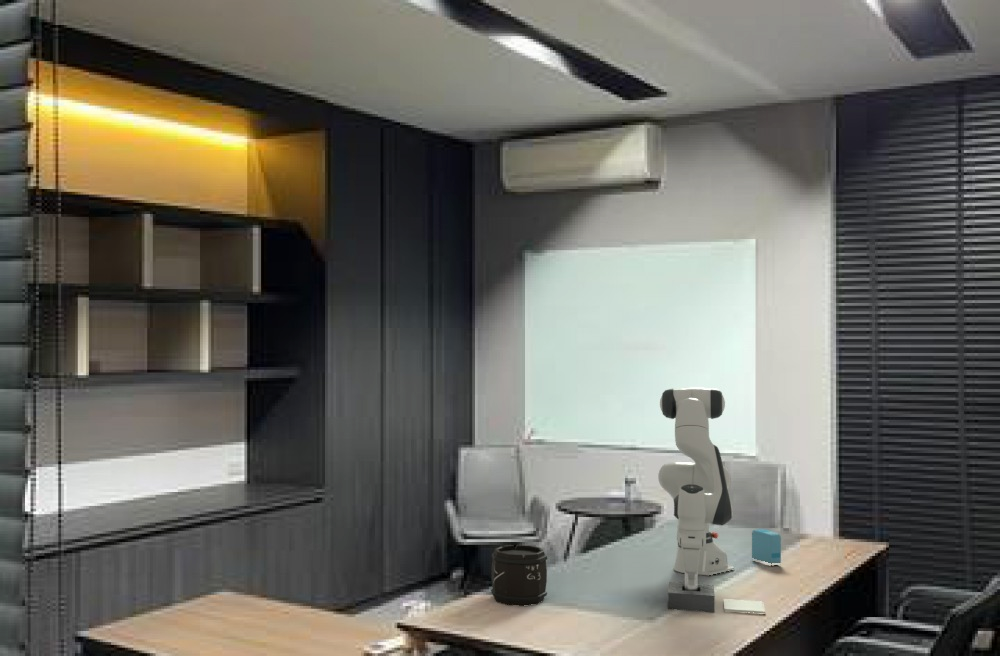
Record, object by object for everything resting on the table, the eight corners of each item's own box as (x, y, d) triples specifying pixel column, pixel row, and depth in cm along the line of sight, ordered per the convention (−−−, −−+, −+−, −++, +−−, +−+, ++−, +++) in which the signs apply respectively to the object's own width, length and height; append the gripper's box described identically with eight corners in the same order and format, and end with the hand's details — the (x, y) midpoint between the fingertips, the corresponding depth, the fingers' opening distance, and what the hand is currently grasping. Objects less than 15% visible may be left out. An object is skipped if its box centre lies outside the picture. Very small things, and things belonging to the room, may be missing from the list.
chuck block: (669, 597, 300) (669, 581, 300) (713, 600, 297) (713, 584, 297) (667, 609, 286) (667, 592, 286) (714, 612, 283) (714, 595, 283)
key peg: (691, 602, 294) (691, 570, 294) (700, 605, 291) (700, 573, 291) (682, 603, 292) (682, 571, 292) (690, 606, 289) (690, 574, 289)
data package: (781, 566, 347) (781, 534, 347) (770, 567, 345) (771, 534, 346) (761, 559, 358) (761, 528, 358) (751, 560, 356) (751, 529, 357)
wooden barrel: (504, 589, 307) (505, 541, 308) (554, 596, 299) (555, 547, 300) (479, 602, 291) (480, 551, 292) (531, 609, 283) (532, 557, 284)
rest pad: (723, 601, 295) (723, 598, 295) (762, 604, 293) (762, 601, 293) (724, 612, 283) (724, 608, 283) (765, 614, 281) (765, 611, 281)
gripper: (681, 531, 303) (681, 573, 302) (680, 543, 283) (680, 589, 282) (701, 532, 301) (701, 574, 301) (702, 544, 281) (701, 590, 281)
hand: (691, 581), depth 291 cm, fingers open, 7 cm apart
